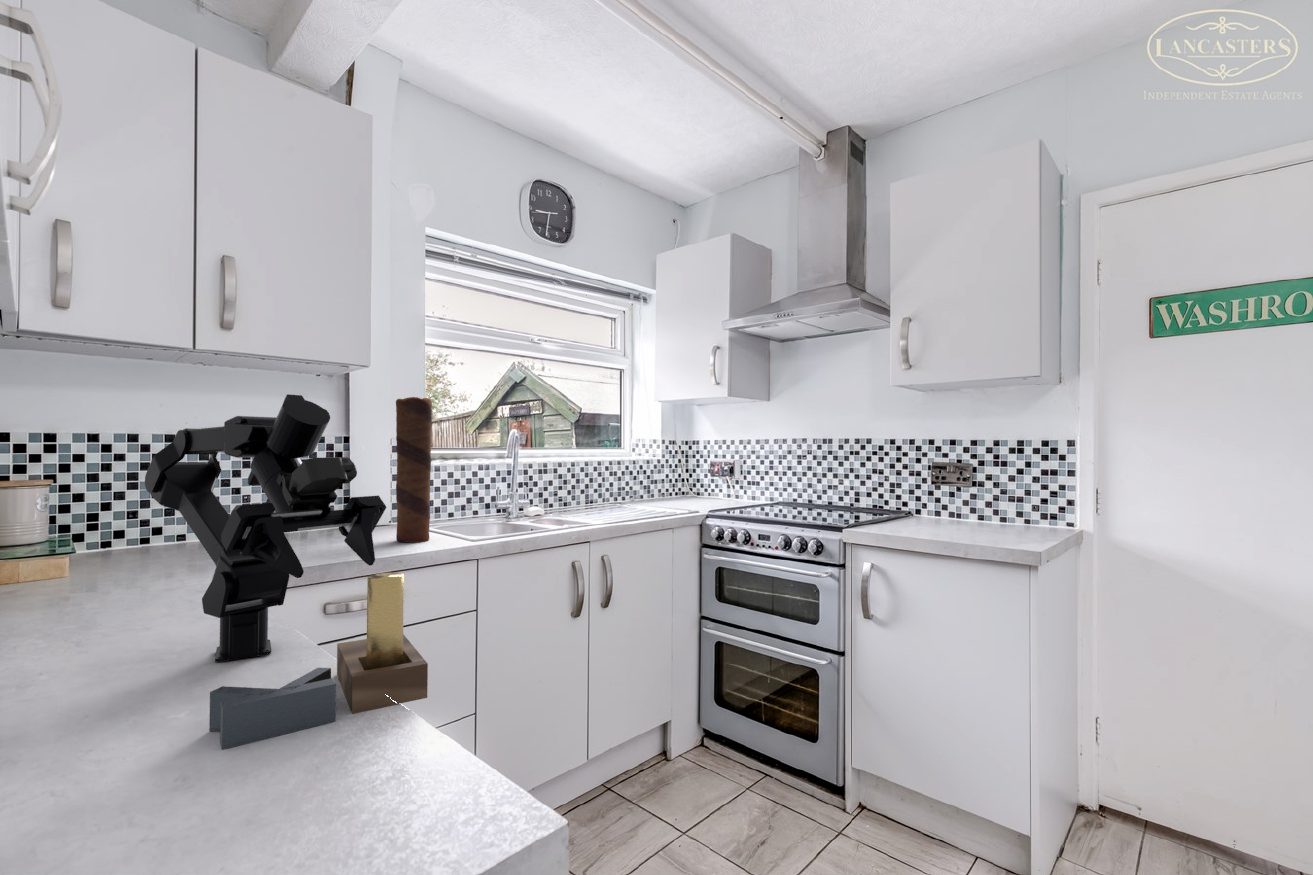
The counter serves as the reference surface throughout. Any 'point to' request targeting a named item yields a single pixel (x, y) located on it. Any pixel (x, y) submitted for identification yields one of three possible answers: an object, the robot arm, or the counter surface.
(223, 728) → the steel V-block
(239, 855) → the counter surface
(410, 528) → the wafer roll
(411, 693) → the wooden socket block
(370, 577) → the brass axle
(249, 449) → the robot arm
